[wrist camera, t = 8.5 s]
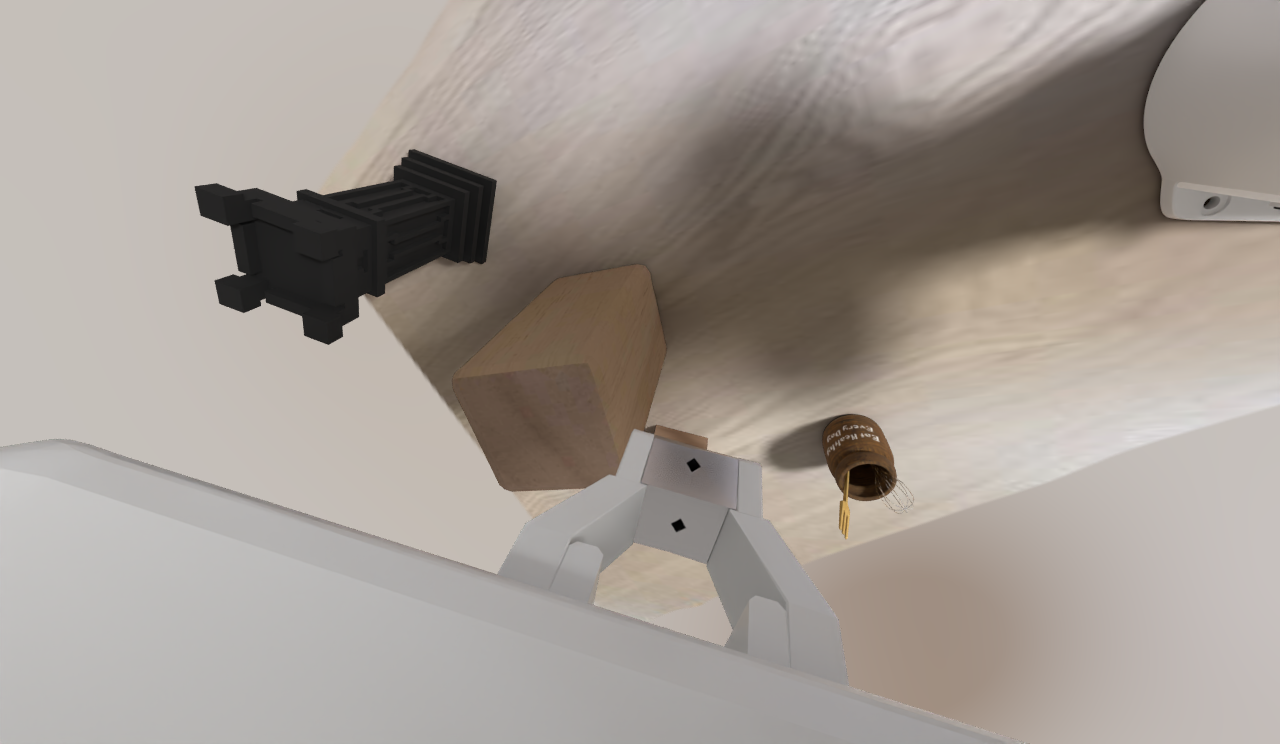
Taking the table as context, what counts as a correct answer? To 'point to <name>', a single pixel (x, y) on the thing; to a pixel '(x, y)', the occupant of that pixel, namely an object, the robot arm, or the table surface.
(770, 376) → the table surface
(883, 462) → the utensil holder
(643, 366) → the block
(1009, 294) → the table surface
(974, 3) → the table surface
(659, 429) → the walnut numbered cube
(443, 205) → the chess piece
